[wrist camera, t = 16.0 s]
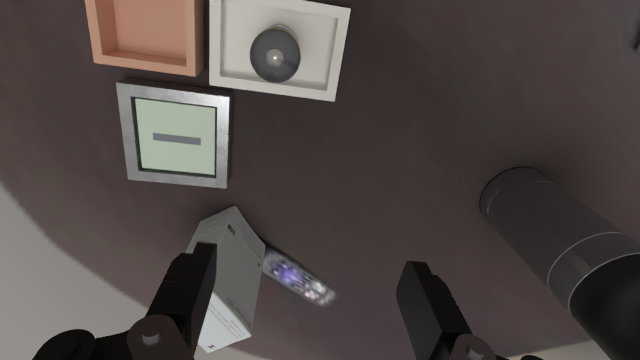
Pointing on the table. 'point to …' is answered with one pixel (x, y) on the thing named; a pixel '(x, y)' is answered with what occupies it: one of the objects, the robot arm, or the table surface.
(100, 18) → the dish
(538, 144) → the table surface
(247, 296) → the skincare box
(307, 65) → the trough
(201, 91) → the grey square slotted tray
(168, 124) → the plate
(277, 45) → the cell
